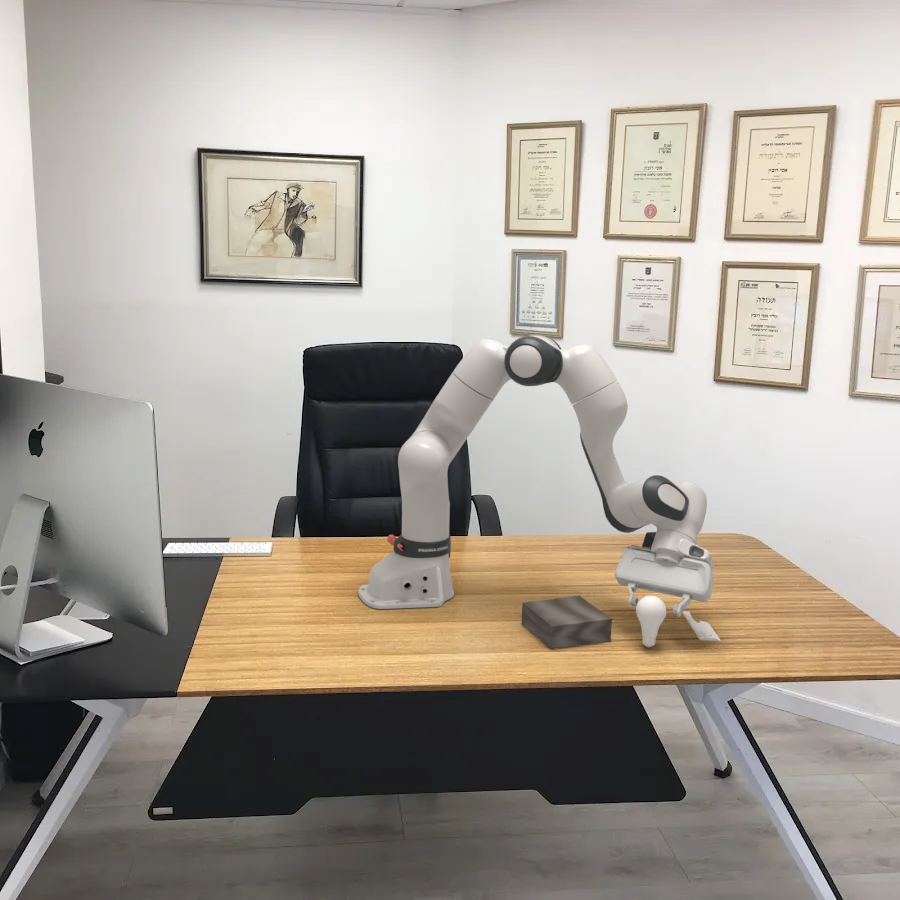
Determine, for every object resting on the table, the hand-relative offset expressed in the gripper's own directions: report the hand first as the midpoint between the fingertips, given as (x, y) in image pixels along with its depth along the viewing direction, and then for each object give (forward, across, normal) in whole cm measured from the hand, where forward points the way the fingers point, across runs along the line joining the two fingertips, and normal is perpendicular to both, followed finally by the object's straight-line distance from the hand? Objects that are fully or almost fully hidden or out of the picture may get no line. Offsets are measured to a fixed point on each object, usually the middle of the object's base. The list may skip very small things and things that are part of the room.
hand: (653, 609), depth 192 cm
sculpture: (-37, -16, +48) cm, 63 cm away
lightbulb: (+7, 0, +4) cm, 8 cm away
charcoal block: (+8, -18, +2) cm, 20 cm away
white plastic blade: (-5, +6, +17) cm, 19 cm away
